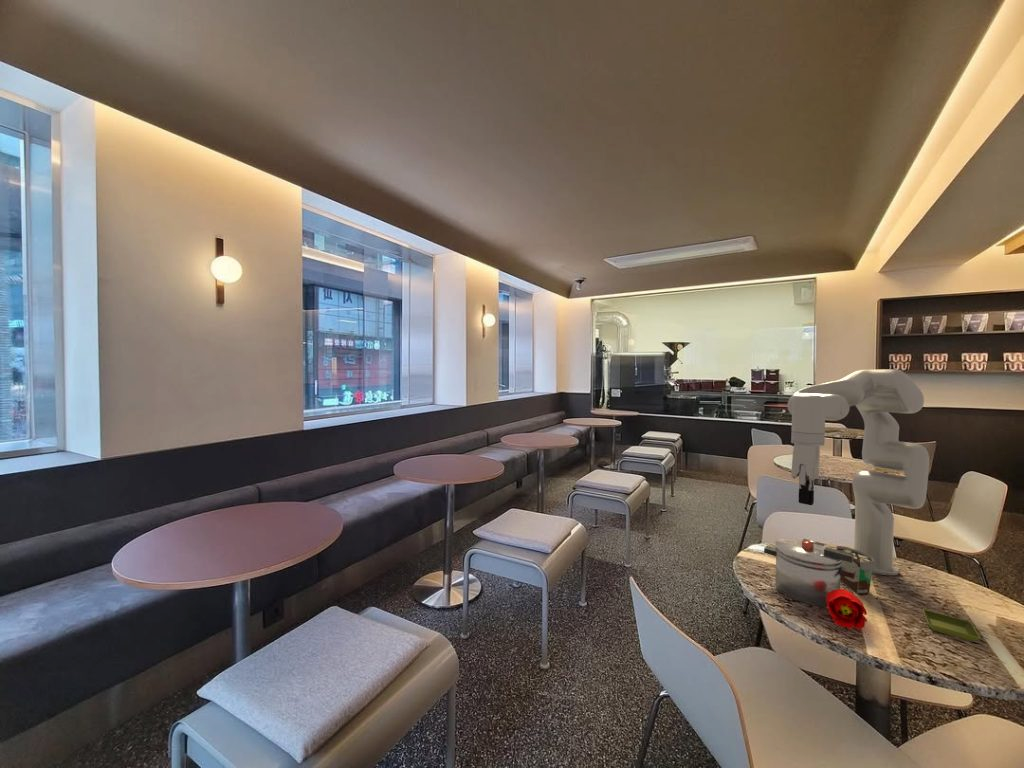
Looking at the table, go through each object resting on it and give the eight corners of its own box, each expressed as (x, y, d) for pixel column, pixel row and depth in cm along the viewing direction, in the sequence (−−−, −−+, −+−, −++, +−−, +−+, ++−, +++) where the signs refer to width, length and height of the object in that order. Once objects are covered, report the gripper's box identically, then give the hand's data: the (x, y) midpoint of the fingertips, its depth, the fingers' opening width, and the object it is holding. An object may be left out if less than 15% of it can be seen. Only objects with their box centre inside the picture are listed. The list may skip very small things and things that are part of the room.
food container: (886, 600, 112) (887, 565, 112) (860, 597, 113) (861, 562, 113) (857, 579, 124) (858, 547, 124) (835, 577, 125) (835, 545, 125)
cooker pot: (772, 570, 129) (773, 536, 129) (857, 597, 113) (858, 558, 113) (756, 586, 118) (757, 549, 118) (849, 618, 103) (850, 576, 103)
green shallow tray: (921, 616, 105) (921, 608, 105) (971, 629, 100) (971, 621, 100) (927, 631, 99) (927, 623, 99) (980, 647, 93) (981, 638, 93)
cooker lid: (783, 538, 127) (784, 528, 127) (857, 557, 114) (857, 545, 114) (768, 551, 116) (768, 540, 116) (847, 574, 103) (848, 562, 103)
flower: (868, 600, 102) (875, 613, 96) (851, 623, 104) (856, 638, 97) (833, 578, 106) (837, 590, 100) (817, 601, 108) (820, 614, 101)
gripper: (798, 434, 120) (796, 495, 121) (784, 439, 110) (783, 505, 110) (829, 437, 115) (827, 501, 115) (818, 443, 105) (816, 512, 105)
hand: (806, 503), depth 113 cm, fingers closed
